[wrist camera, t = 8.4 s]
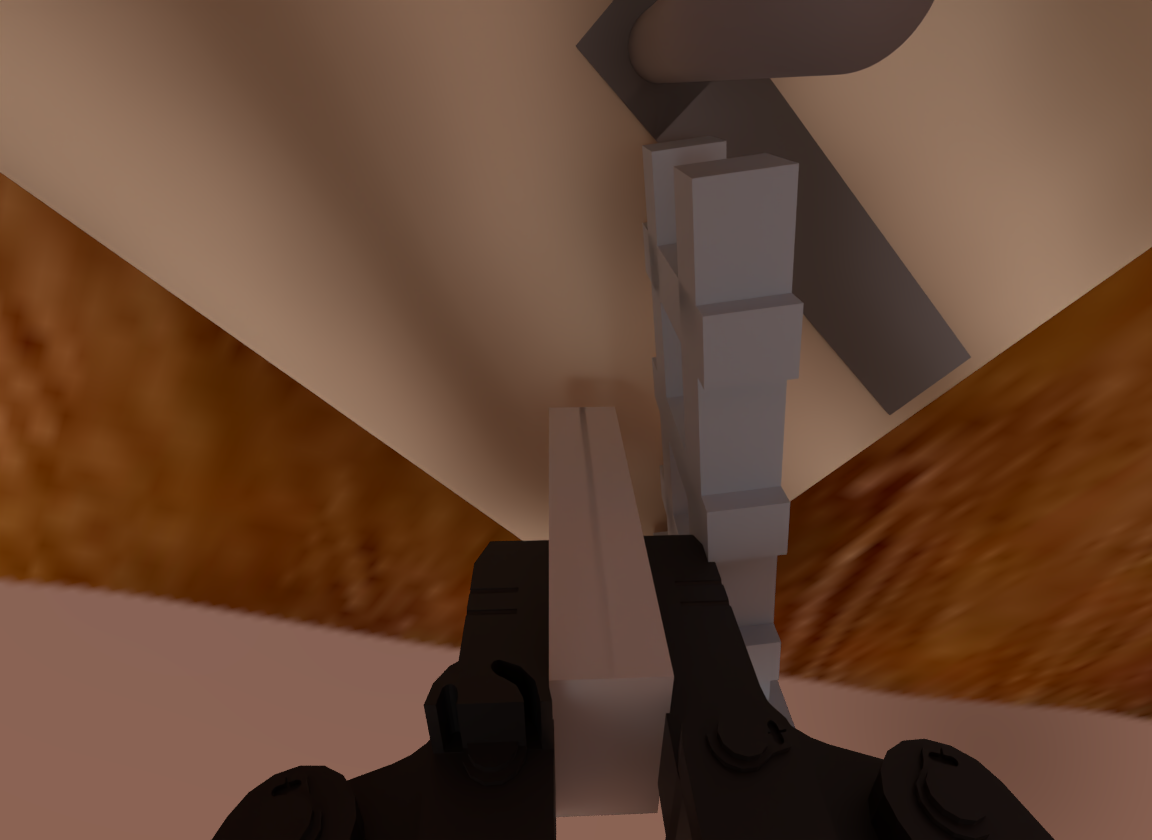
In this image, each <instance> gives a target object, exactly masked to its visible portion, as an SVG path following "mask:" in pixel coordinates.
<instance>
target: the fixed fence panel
mask: <svg viewBox="0 0 1152 840" xmlns="http://www.w3.org/2000/svg"><path fill="white" fill-rule="evenodd" d="M933 2H934V0H658V1H656V2H655V3H654V4H653V5H652V6H651V7H649V8H648V9H647V10H646V11H645V12H644V13H643V14H642V15H641V16H640V17H639V18H638V19H637V20H636V22H635V24H634V25H633V28H632V30H631V33H630V36H629V42H628V52H629V57H630V61H631V64H632V66H633V68H634V69H635V71H636V72H637V73H638V74H639V75H640V76H641V77H642V78H643V79H645V80H647V81H649V82H652V83H679V82H700V81H721V80H742V79H762V78H783V77H804V76H825V75H841V74H849V73H853V72H857V71H860V70H863V69H865V68H868V67H870V66H872V65H874V64H876V63H878V62H880V61H881V60H883V59H884V58H886V57H887V56H889V55H890V54H892V53H893V52H894V51H895V50H896V49H897V48H899V47H900V46H901V45H902V44H903V43H904V42H905V41H906V40H907V39H908V38H909V37H910V36H911V35H912V34H913V32H914V31H915V30H916V28H917V27H918V26H919V25H920V23H921V22H922V20H923V19H924V17H925V16H926V14H927V13H928V11H929V10H930V8H931V6H932V4H933Z"/></svg>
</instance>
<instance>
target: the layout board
mask: <svg viewBox="0 0 1152 840" xmlns="http://www.w3.org/2000/svg"><path fill="white" fill-rule="evenodd" d="M656 1H658V0H0V172H1V173H2V174H4V175H5V176H7V177H8V178H9V179H11V180H12V181H14V182H15V183H16V184H18V185H19V186H21V187H22V188H24V189H25V190H26V191H28V192H29V193H31V194H32V195H33V196H35V197H36V198H38V199H39V200H41V201H42V202H43V203H45V204H46V205H48V206H49V207H50V208H52V209H53V210H55V211H56V212H58V213H59V214H60V215H62V216H63V217H65V218H66V219H68V220H69V221H70V222H72V223H73V224H75V225H76V226H77V227H79V228H80V229H82V230H83V231H85V232H86V233H87V234H89V235H90V236H92V237H93V238H94V239H96V240H97V241H99V242H100V243H102V244H103V245H104V246H106V247H107V248H109V249H110V250H111V251H113V252H114V253H116V254H117V255H119V256H120V257H121V258H123V259H124V260H126V261H127V262H128V263H130V264H131V265H133V266H134V267H136V268H137V269H138V270H140V271H141V272H143V273H144V274H145V275H147V276H148V277H150V278H151V279H153V280H154V281H155V282H157V283H158V284H160V285H161V286H162V287H164V288H165V289H167V290H168V291H170V292H171V293H172V294H174V295H175V296H177V297H178V298H179V299H181V300H182V301H184V302H185V303H187V304H188V305H189V306H191V307H192V308H194V309H195V310H197V311H198V312H199V313H201V314H202V315H204V316H205V317H206V318H208V319H209V320H211V321H212V322H214V323H215V324H216V325H218V326H219V327H221V328H222V329H223V330H225V331H226V332H228V333H229V334H231V335H232V336H233V337H235V338H236V339H238V340H239V341H240V342H242V343H243V344H245V345H246V346H248V347H249V348H250V349H252V350H253V351H255V352H256V353H257V354H259V355H260V356H262V357H263V358H265V359H266V360H267V361H269V362H270V363H272V364H273V365H274V366H276V367H277V368H279V369H280V370H282V371H283V372H284V373H286V374H287V375H289V376H290V377H291V378H293V379H294V380H296V381H297V382H299V383H300V384H301V385H303V386H304V387H306V388H307V389H308V390H310V391H311V392H313V393H314V394H316V395H317V396H318V397H320V398H321V399H323V400H324V401H326V402H327V403H328V404H330V405H331V406H333V407H334V408H335V409H337V410H338V411H340V412H341V413H343V414H344V415H345V416H347V417H348V418H350V419H351V420H352V421H354V422H355V423H357V424H358V425H360V426H361V427H362V428H364V429H365V430H367V431H368V432H369V433H371V434H372V435H374V436H375V437H377V438H378V439H379V440H381V441H382V442H384V443H385V444H386V445H388V446H389V447H391V448H392V449H394V450H395V451H396V452H398V453H399V454H401V455H402V456H403V457H405V458H406V459H408V460H409V461H411V462H412V463H413V464H415V465H416V466H418V467H419V468H420V469H422V470H423V471H425V472H426V473H428V474H429V475H430V476H432V477H433V478H435V479H436V480H437V481H439V482H440V483H442V484H443V485H445V486H446V487H447V488H449V489H450V490H452V491H453V492H455V493H456V494H457V495H459V496H460V497H462V498H463V499H464V500H466V501H467V502H469V503H470V504H472V505H473V506H474V507H476V508H477V509H479V510H480V511H481V512H483V513H484V514H486V515H487V516H489V517H490V518H491V519H493V520H494V521H496V522H497V523H498V524H500V525H501V526H503V527H504V528H506V529H507V530H508V531H510V532H511V533H513V534H514V535H515V536H517V537H518V538H520V539H521V540H523V541H532V540H549V408H557V407H615V409H616V414H617V418H618V423H619V427H620V432H621V437H622V441H623V446H624V450H625V455H626V459H627V464H628V469H629V473H630V478H631V482H632V487H633V491H634V496H635V500H636V505H637V510H638V514H639V519H640V523H641V528H642V532H643V536H654V535H653V533H657V532H665V531H668V526H667V515H666V511H665V507H664V503H663V499H662V492H661V478H660V465H663V451H662V436H661V421H660V411H659V408H658V405H657V402H656V399H655V393H654V379H653V365H652V357H656V346H655V331H654V316H653V301H652V286H651V281H650V279H649V277H648V275H647V273H646V266H645V252H644V238H643V224H642V223H644V222H647V212H646V197H645V182H644V167H643V152H642V145H649V144H655V143H662V142H669V141H676V140H683V139H690V138H697V137H703V136H712V137H715V138H719V139H722V140H725V141H726V159H727V158H734V157H741V156H748V155H755V154H762V153H767V154H770V155H774V156H777V157H780V158H783V159H787V160H790V161H793V162H796V163H799V172H798V190H797V208H796V226H795V244H794V262H793V280H792V294H794V295H795V296H796V297H797V298H798V299H799V300H801V301H802V302H803V303H804V305H803V320H802V335H801V350H800V365H799V378H798V379H791V380H787V387H786V405H785V423H784V441H783V459H782V477H781V487H782V489H783V491H784V492H785V494H786V496H787V498H788V499H789V501H791V500H793V499H794V498H796V497H797V496H799V495H800V494H801V493H803V492H804V491H806V490H807V489H808V488H810V487H811V486H813V485H814V484H816V483H817V482H818V481H820V480H821V479H823V478H824V477H825V476H827V475H828V474H830V473H831V472H833V471H834V470H835V469H837V468H838V467H840V466H841V465H843V464H844V463H845V462H847V461H848V460H850V459H851V458H852V457H854V456H855V455H857V454H858V453H860V452H861V451H862V450H864V449H865V448H867V447H868V446H870V445H871V444H872V443H874V442H875V441H877V440H878V439H879V438H881V437H882V436H884V435H885V434H887V433H888V432H889V431H891V430H892V429H894V428H895V427H897V426H898V425H899V424H901V423H902V422H904V421H905V420H906V419H908V418H909V417H911V416H912V415H914V414H915V413H916V412H918V411H919V410H921V409H922V408H924V407H925V406H926V405H928V404H929V403H931V402H932V401H933V400H935V399H936V398H938V397H939V396H941V395H942V394H943V393H945V392H946V391H948V390H949V389H950V388H952V387H953V386H955V385H956V384H958V383H959V382H960V381H962V380H963V379H965V378H966V377H968V376H969V375H970V374H972V373H973V372H975V371H976V370H977V369H979V368H980V367H982V366H983V365H985V364H986V363H987V362H989V361H990V360H992V359H993V358H995V357H996V356H997V355H999V354H1000V353H1002V352H1003V351H1004V350H1006V349H1007V348H1009V347H1010V346H1012V345H1013V344H1014V343H1016V342H1017V341H1019V340H1020V339H1022V338H1023V337H1024V336H1026V335H1027V334H1029V333H1030V332H1031V331H1033V330H1034V329H1036V328H1037V327H1039V326H1040V325H1041V324H1043V323H1044V322H1046V321H1047V320H1049V319H1050V318H1051V317H1053V316H1054V315H1056V314H1057V313H1058V312H1060V311H1061V310H1063V309H1064V308H1066V307H1067V306H1068V305H1070V304H1071V303H1073V302H1074V301H1075V300H1077V299H1078V298H1080V297H1081V296H1083V295H1084V294H1085V293H1087V292H1088V291H1090V290H1091V289H1093V288H1094V287H1095V286H1097V285H1098V284H1100V283H1101V282H1102V281H1104V280H1105V279H1107V278H1108V277H1110V276H1111V275H1112V274H1114V273H1115V272H1117V271H1118V270H1120V269H1121V268H1122V267H1124V266H1125V265H1127V264H1128V263H1129V262H1131V261H1132V260H1134V259H1135V258H1137V257H1138V256H1139V255H1141V254H1142V253H1144V252H1145V251H1147V250H1148V249H1149V248H1151V247H1152V0H934V2H933V4H932V6H931V8H930V10H929V11H928V13H927V14H926V16H925V17H924V19H923V20H922V22H921V23H920V25H919V26H918V27H917V28H916V30H915V31H914V32H913V34H912V35H911V36H910V37H909V38H908V39H907V40H906V41H905V42H904V43H903V44H902V45H901V46H900V47H899V48H897V49H896V50H895V51H894V52H893V53H892V54H890V55H889V56H887V57H886V58H884V59H883V60H881V61H880V62H878V63H876V64H874V65H872V66H870V67H868V68H865V69H863V70H860V71H857V72H853V73H849V74H841V75H825V76H804V77H783V78H762V79H742V80H721V81H700V82H679V83H652V82H649V81H647V80H645V79H643V78H642V77H641V76H640V75H639V74H638V73H637V72H636V71H635V69H634V68H633V66H632V64H631V61H630V57H629V52H628V42H629V36H630V33H631V30H632V28H633V25H634V24H635V22H636V20H637V19H638V18H639V17H640V16H641V15H642V14H643V13H644V12H645V11H646V10H647V9H648V8H649V7H651V6H652V5H653V4H654V3H655V2H656Z"/></svg>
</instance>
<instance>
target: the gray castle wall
mask: <svg viewBox="0 0 1152 840" xmlns="http://www.w3.org/2000/svg"><path fill="white" fill-rule="evenodd" d="M642 152H643V167H644V182H645V197H646V212H647V222H644V223H642V224H643V238H644V252H645V266H646V273H647V275H648V277H649V279H650V281H651V286H652V301H653V316H654V331H655V346H656V357H652V365H653V379H654V393H655V399H656V402H657V405H658V408H659V411H660V421H661V436H662V451H663V465H660V478H661V492H662V499H663V503H664V507H665V511H666V515H667V526H668V531H665V532H657V533H653V535H654V536H656V535H694V536H695V537H696V538H697V539H698V540H699V541H700V542H701V544H702V545H703V547H704V550H705V553H706V557H707V560H708V562H715V563H716V566H717V569H718V571H719V574H720V577H721V580H722V581H721V582H722V585H724V588H725V591H726V593H727V596H728V599H729V605H730V606H731V607H732V610H733V613H734V615H735V618H736V621H737V624H738V626H739V629H740V632H741V635H742V637H743V640H744V643H745V646H746V648H747V651H748V654H749V657H750V659H751V662H752V665H753V668H754V670H755V673H756V676H757V679H758V681H759V684H760V687H761V689H762V691H763V693H764V695H765V697H766V699H767V700H768V702H769V703H770V704H771V705H772V706H773V707H774V708H775V709H777V710H778V711H779V712H780V713H781V714H782V715H783V716H784V717H786V718H787V720H788V722H789V723H790V725H791V726H793V727H794V728H795V726H794V723H793V721H792V718H791V715H790V713H789V710H788V707H787V705H786V702H785V700H784V697H783V694H782V691H781V689H780V686H779V683H778V681H777V680H778V679H779V664H780V649H781V641H780V638H779V636H778V634H777V631H776V629H775V626H774V624H773V620H774V602H775V585H776V567H777V555H785V554H787V544H788V529H789V514H790V501H789V499H788V498H787V496H786V494H785V492H784V491H783V489H782V487H781V477H782V459H783V441H784V423H785V405H786V387H787V380H791V379H798V378H799V365H800V350H801V335H802V320H803V305H804V303H803V302H802V301H801V300H799V299H798V298H797V297H796V296H795V295H794V294H792V280H793V262H794V244H795V226H796V208H797V190H798V172H799V163H796V162H793V161H790V160H787V159H783V158H780V157H777V156H774V155H770V154H767V153H762V154H755V155H748V156H741V157H734V158H727V159H726V141H725V140H722V139H719V138H715V137H712V136H703V137H697V138H690V139H683V140H676V141H669V142H662V143H655V144H649V145H642Z"/></svg>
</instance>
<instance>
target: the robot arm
mask: <svg viewBox="0 0 1152 840" xmlns="http://www.w3.org/2000/svg"><path fill="white" fill-rule="evenodd" d="M721 581H722V580H721V577H720V574H719V571H718V569H717V566H716V563H715V562H708V560H707V557H706V553H705V550H704V547H703V545H702V544H701V542H700V541H699V540H698V539H697V538H696V537H695V536H694V535H656V536H643V532H642V528H641V523H640V519H639V514H638V510H637V505H636V500H635V496H634V491H633V487H632V482H631V478H630V473H629V469H628V464H627V459H626V455H625V450H624V446H623V441H622V437H621V432H620V427H619V423H618V418H617V414H616V409H615V407H557V408H549V540H532V541H493V542H490V543H489V544H488V546H487V547H486V548H485V550H484V551H483V552H482V554H481V555H480V556H479V558H478V559H477V561H476V562H475V563H474V569H473V575H472V582H471V588H470V594H469V600H468V606H467V616H466V619H465V625H464V631H463V637H462V643H461V649H460V656H459V661H458V662H456V663H455V664H453V665H451V666H449V667H448V668H447V669H446V671H444V673H443V674H442V675H441V676H440V677H439V678H438V679H437V680H436V681H435V682H434V683H433V685H432V688H431V690H430V692H429V694H428V696H427V699H426V701H425V704H424V709H425V714H426V719H427V724H428V730H429V735H430V740H429V741H428V742H427V743H426V744H425V745H424V746H422V747H421V748H420V749H418V750H417V751H416V752H414V753H413V754H412V755H410V756H408V757H406V758H404V759H402V760H400V761H398V762H396V763H394V764H392V765H388V766H386V767H383V768H380V769H377V770H375V771H372V772H369V773H367V774H364V775H361V776H358V777H356V778H353V779H350V780H347V781H346V779H345V778H344V776H343V775H342V774H340V773H338V772H336V771H334V770H332V769H329V768H328V767H326V766H298V767H295V768H292V769H290V770H287V771H284V772H281V773H278V774H275V775H273V776H272V777H270V778H269V779H268V780H266V781H265V782H263V783H262V784H260V785H259V786H257V787H256V788H254V789H253V790H252V791H250V792H249V793H248V794H247V795H246V796H245V797H244V798H243V800H242V801H241V802H240V803H239V804H238V805H237V807H235V809H234V810H233V811H232V812H231V813H230V814H229V815H228V817H227V818H226V819H225V821H224V822H223V824H222V825H221V827H220V828H219V830H218V831H217V833H216V834H215V836H214V837H213V839H212V840H556V817H569V816H590V815H591V816H592V815H620V814H643V813H657V811H658V803H659V796H660V801H661V808H662V814H663V821H664V827H665V833H666V839H665V840H1054V839H1053V838H1052V837H1051V835H1050V834H1049V833H1048V832H1047V831H1046V830H1045V829H1044V828H1043V827H1042V826H1041V824H1040V823H1039V822H1038V821H1037V820H1036V819H1035V818H1034V817H1033V816H1032V815H1031V814H1030V812H1029V811H1028V810H1027V809H1026V808H1025V807H1024V806H1023V805H1022V804H1021V802H1020V801H1019V800H1018V799H1017V798H1016V797H1015V796H1014V795H1013V794H1012V793H1011V791H1010V790H1008V788H1007V787H1006V786H1005V785H1004V784H1003V783H1002V782H1001V781H1000V780H999V779H998V778H997V777H996V776H994V775H993V774H992V773H991V772H990V771H989V770H988V769H986V768H985V767H984V766H983V765H982V764H981V763H979V761H977V760H976V759H974V758H972V757H970V756H968V755H967V754H965V753H963V752H961V751H959V750H958V749H956V748H954V747H952V746H950V745H946V744H942V743H938V742H935V741H931V740H927V739H919V740H906V741H902V742H900V743H899V744H897V745H896V746H895V747H893V748H891V749H890V750H888V751H887V753H886V755H885V758H884V759H880V758H876V757H873V756H869V755H865V754H862V753H858V752H854V751H851V750H847V749H843V748H840V747H836V746H833V745H829V744H826V743H824V742H821V741H819V740H816V739H813V738H811V737H809V736H807V735H806V734H804V733H802V732H801V731H799V730H797V729H796V728H794V727H793V726H791V725H790V723H789V722H788V720H787V718H786V717H784V716H783V715H782V714H781V713H780V712H779V711H778V710H777V709H775V708H774V707H773V706H772V705H771V704H770V703H769V702H768V700H767V699H766V697H765V695H764V693H763V691H762V689H761V687H760V684H759V681H758V679H757V676H756V673H755V670H754V668H753V665H752V662H751V659H750V657H749V654H748V651H747V648H746V646H745V643H744V640H743V637H742V635H741V632H740V629H739V626H738V624H737V621H736V618H735V615H734V613H733V610H732V607H731V606H730V605H729V599H728V596H727V593H726V591H725V588H724V585H722V582H721Z"/></svg>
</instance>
